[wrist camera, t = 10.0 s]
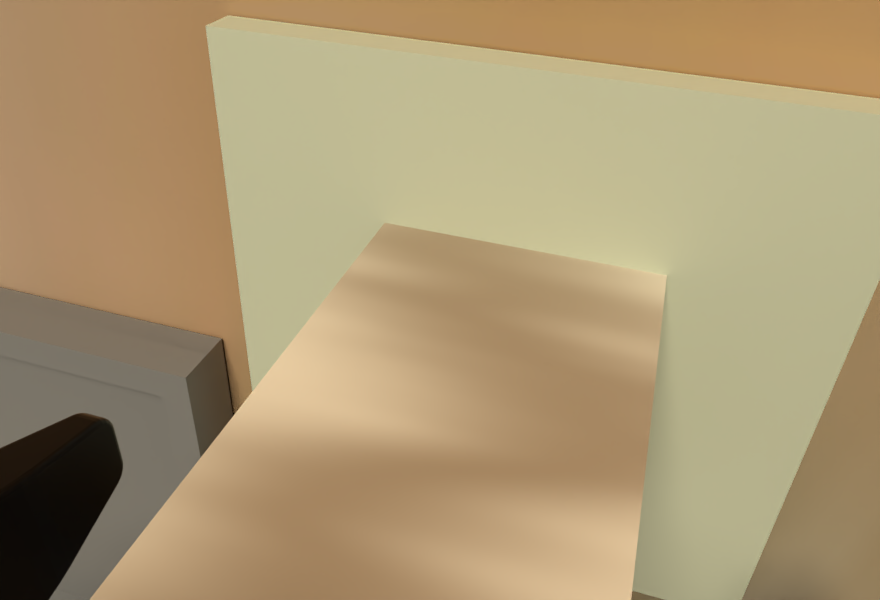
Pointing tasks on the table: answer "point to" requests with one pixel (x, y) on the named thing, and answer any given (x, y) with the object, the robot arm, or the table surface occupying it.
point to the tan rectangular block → (428, 440)
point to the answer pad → (579, 233)
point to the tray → (112, 407)
